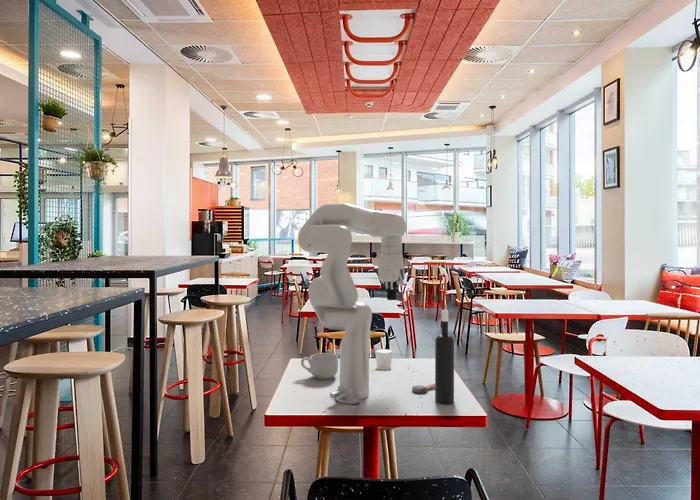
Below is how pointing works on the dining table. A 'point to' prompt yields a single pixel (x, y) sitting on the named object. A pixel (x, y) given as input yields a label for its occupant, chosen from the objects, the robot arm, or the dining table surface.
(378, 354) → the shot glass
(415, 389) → the multicoloured piece
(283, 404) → the dining table surface
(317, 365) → the teacup
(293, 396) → the dining table surface
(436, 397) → the wine bottle
